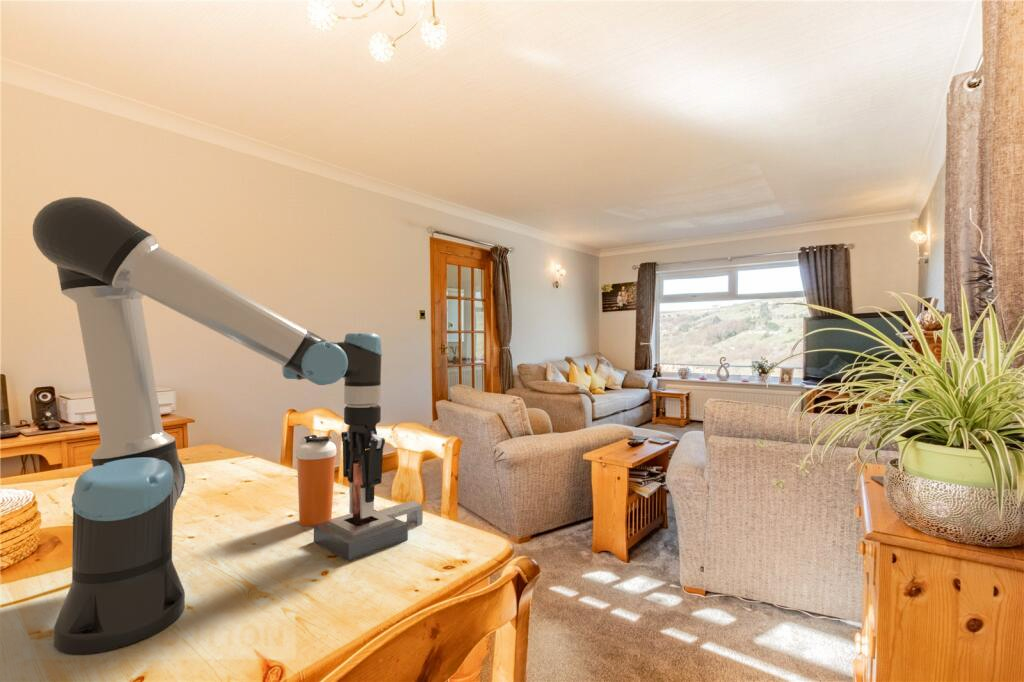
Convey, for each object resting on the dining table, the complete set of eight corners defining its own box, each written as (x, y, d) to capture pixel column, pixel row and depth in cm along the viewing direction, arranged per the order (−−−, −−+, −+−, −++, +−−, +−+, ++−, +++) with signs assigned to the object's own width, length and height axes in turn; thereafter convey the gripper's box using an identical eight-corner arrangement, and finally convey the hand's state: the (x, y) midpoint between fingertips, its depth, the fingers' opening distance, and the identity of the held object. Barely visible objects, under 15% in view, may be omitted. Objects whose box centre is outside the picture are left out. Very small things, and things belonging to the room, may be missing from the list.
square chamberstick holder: (348, 561, 92) (348, 543, 92) (313, 541, 101) (313, 525, 101) (407, 539, 102) (407, 523, 102) (371, 523, 111) (371, 508, 111)
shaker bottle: (321, 529, 107) (322, 441, 107) (286, 526, 109) (287, 439, 109) (342, 515, 116) (344, 434, 116) (310, 512, 118) (311, 432, 118)
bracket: (352, 555, 94) (352, 532, 95) (327, 541, 101) (327, 520, 101) (430, 526, 110) (430, 507, 110) (404, 516, 116) (404, 497, 116)
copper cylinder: (358, 532, 99) (359, 465, 99) (349, 528, 101) (350, 462, 101) (373, 527, 102) (374, 462, 102) (364, 523, 104) (364, 459, 104)
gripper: (400, 406, 99) (399, 518, 99) (357, 400, 110) (356, 501, 110) (369, 410, 93) (367, 529, 93) (326, 403, 104) (325, 509, 104)
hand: (361, 513), depth 102 cm, fingers closed on copper cylinder, 4 cm apart
